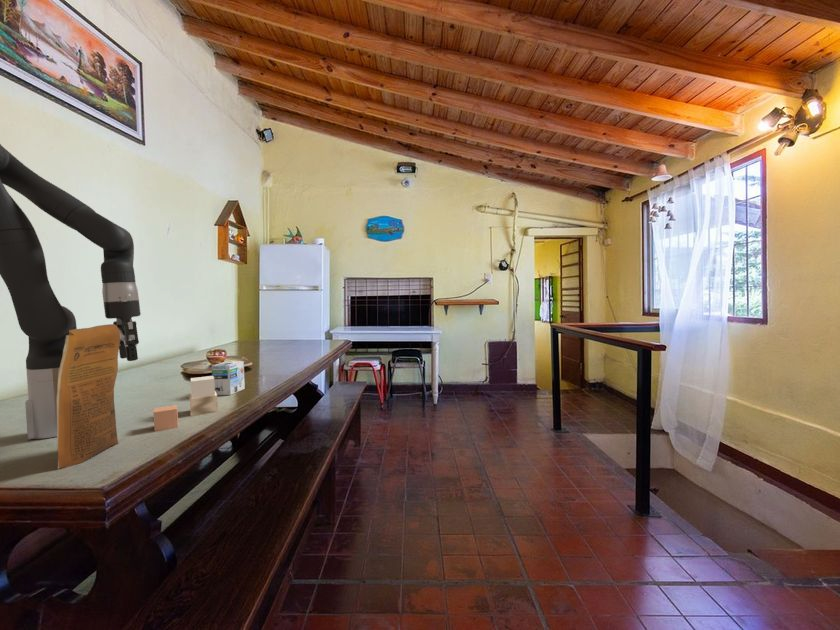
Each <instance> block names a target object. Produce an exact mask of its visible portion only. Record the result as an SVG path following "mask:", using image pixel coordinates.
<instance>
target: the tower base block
mask: <svg viewBox="0 0 840 630" xmlns="http://www.w3.org/2000/svg"><path fill="white" fill-rule="evenodd" d="M218 404H219V403H218V395H217V394H216V391H215V395H214V396H207V397H200V398H192V396H191V393H190V394H189V408H190V409H189V410H190V417H192V416H200V415H204V414H205V415H206V414H213V413H218V412H219V405H218Z"/></svg>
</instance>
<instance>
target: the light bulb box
mask: <svg viewBox="0 0 840 630" xmlns="http://www.w3.org/2000/svg"><path fill="white" fill-rule="evenodd" d="M244 363H245V362H244V360H226V361H224V362H219V363H217V364H214V365H211V376H213V377H214V384H215V391H216V394H217V396H231V395H234V394H236V393H238V392H240V391H243V390H245V388H246V387H245V386H246V383H245V364H244Z"/></svg>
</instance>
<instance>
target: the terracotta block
mask: <svg viewBox="0 0 840 630" xmlns="http://www.w3.org/2000/svg"><path fill="white" fill-rule="evenodd" d="M178 413H179V412H178V404H172V405H166V406H159V407H154V410H153V425H154V432H159V431H164V430H165V431H166V430H170V429H176V428H178V427H179V418H178V417H179V415H178Z"/></svg>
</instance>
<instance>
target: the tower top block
mask: <svg viewBox="0 0 840 630" xmlns="http://www.w3.org/2000/svg"><path fill="white" fill-rule="evenodd" d="M190 392H191V393H190V394H191V396H192V398H200V397H207V396H214V395H215V384H214V377H213V376H212V375H207V376H201V377H200V376H199V377H198V376H197V377H190Z"/></svg>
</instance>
